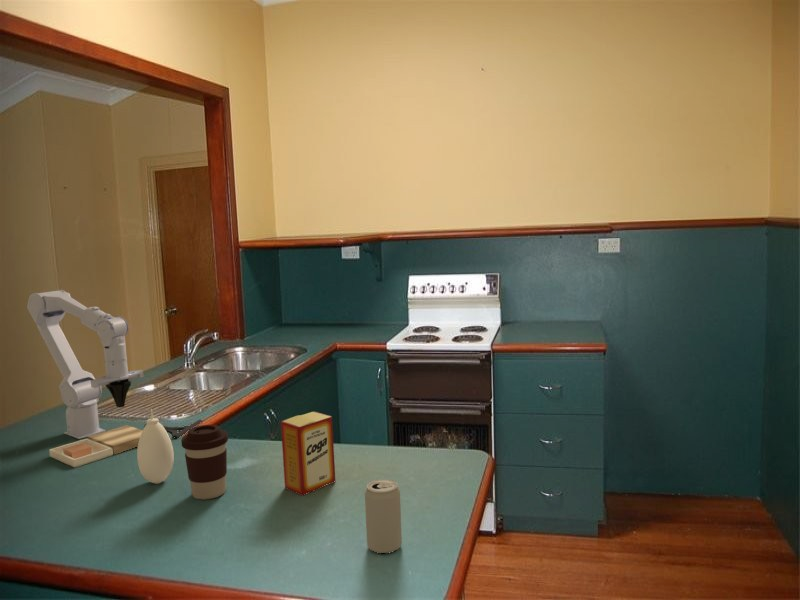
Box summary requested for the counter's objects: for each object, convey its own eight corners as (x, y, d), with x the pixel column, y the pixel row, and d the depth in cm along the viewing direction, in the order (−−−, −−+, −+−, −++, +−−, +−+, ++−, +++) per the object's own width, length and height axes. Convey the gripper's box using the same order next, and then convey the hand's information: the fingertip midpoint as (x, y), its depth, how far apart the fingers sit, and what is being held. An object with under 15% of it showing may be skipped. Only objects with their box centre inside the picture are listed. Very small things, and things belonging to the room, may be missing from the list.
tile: (82, 443, 173) (82, 451, 173) (63, 448, 169) (63, 456, 169) (91, 446, 169) (91, 454, 170) (71, 452, 166) (72, 460, 166)
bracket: (158, 423, 198) (158, 415, 198) (202, 424, 195) (202, 415, 195) (131, 440, 184) (130, 430, 184) (178, 441, 181) (177, 431, 181)
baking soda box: (317, 474, 151) (313, 409, 149) (335, 481, 147) (331, 414, 145) (285, 488, 145) (280, 420, 143) (302, 495, 140) (298, 425, 138)
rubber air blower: (163, 489, 146) (156, 413, 144) (133, 488, 148) (126, 413, 145) (181, 476, 154) (175, 403, 151) (152, 474, 155) (146, 403, 153)
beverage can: (366, 540, 120) (363, 479, 118) (400, 537, 120) (398, 476, 119) (367, 557, 113) (364, 493, 112) (403, 554, 114) (401, 490, 112)
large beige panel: (89, 445, 179) (88, 436, 178) (127, 433, 188) (127, 425, 187) (114, 454, 170) (113, 445, 170) (153, 442, 179) (153, 433, 179)
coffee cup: (240, 486, 146) (235, 423, 144) (214, 505, 137) (209, 438, 135) (204, 482, 149) (199, 420, 148) (176, 500, 140) (171, 434, 138)
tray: (50, 456, 170) (49, 449, 170) (88, 445, 178) (87, 438, 178) (74, 467, 162) (73, 460, 162) (113, 455, 170) (112, 448, 170)
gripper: (97, 366, 172) (102, 415, 174) (147, 356, 184) (151, 402, 185) (85, 364, 177) (90, 411, 178) (134, 354, 188) (138, 398, 190)
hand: (120, 406), depth 182 cm, fingers closed
